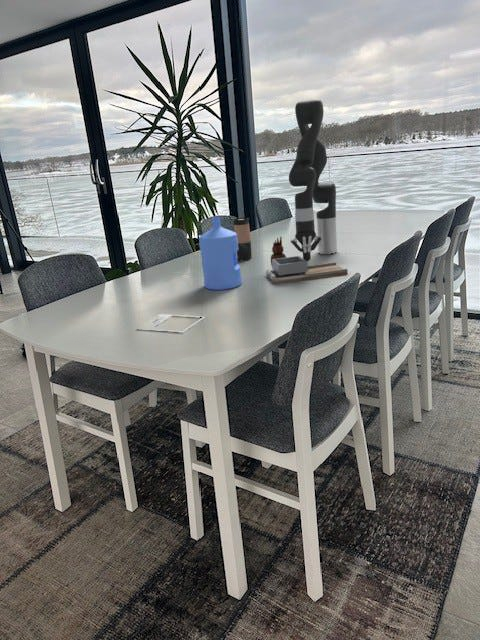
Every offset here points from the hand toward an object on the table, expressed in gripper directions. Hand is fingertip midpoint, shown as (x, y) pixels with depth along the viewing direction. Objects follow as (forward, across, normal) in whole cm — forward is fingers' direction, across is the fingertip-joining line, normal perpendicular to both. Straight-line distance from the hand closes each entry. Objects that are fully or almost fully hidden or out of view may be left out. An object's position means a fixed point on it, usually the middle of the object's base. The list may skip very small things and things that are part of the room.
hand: (306, 261), depth 208 cm
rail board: (+6, +1, 0) cm, 6 cm away
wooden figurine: (+6, +8, -15) cm, 19 cm away
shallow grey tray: (+5, +7, 0) cm, 9 cm away
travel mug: (+6, +18, -47) cm, 51 cm away
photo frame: (+7, +59, +38) cm, 70 cm away
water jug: (+6, +36, -2) cm, 36 cm away
